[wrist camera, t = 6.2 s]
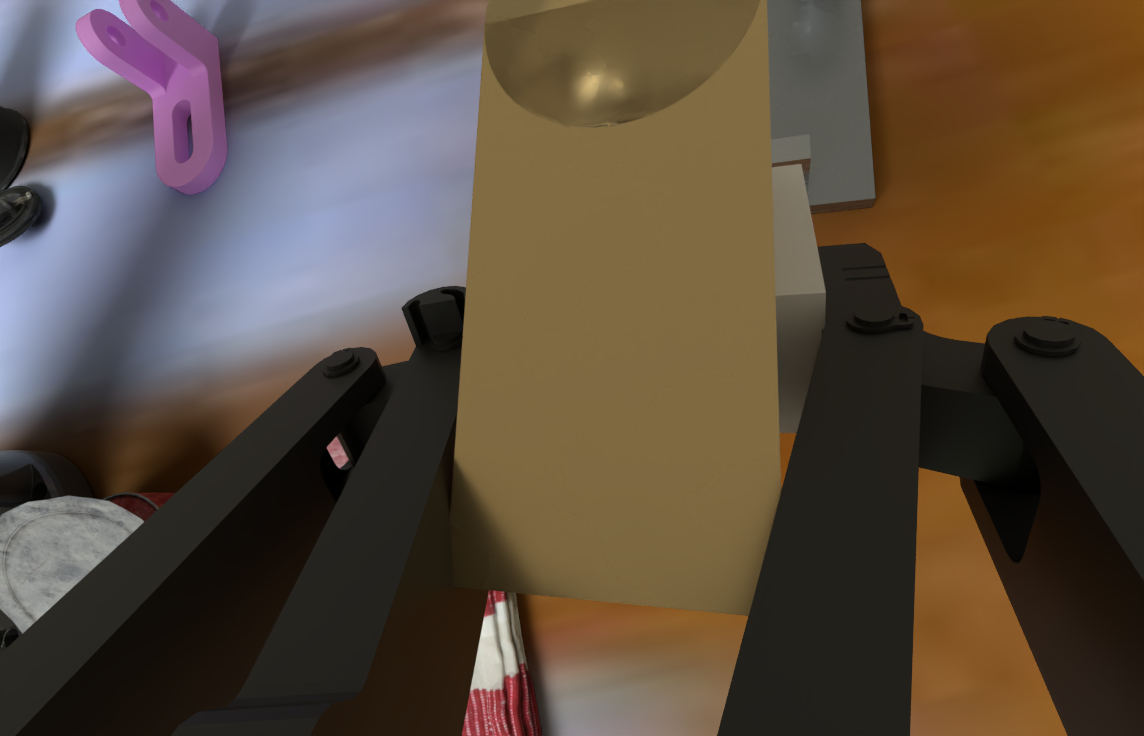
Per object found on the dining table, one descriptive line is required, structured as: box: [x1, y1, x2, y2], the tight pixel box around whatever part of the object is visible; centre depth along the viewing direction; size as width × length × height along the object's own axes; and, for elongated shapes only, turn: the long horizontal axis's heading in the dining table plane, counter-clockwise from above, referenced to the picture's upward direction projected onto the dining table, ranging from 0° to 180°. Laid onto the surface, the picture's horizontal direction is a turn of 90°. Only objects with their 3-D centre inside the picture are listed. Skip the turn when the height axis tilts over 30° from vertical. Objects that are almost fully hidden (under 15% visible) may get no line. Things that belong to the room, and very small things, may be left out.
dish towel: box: [327, 436, 542, 736], centre depth 33 cm, size 17×23×3 cm
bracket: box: [76, 0, 227, 195], centre depth 44 cm, size 13×6×7 cm, turn 14°
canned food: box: [0, 492, 174, 634], centre depth 37 cm, size 11×10×10 cm
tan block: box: [450, 0, 781, 616], centre depth 13 cm, size 4×10×11 cm, turn 178°
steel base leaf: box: [767, 0, 875, 214], centre depth 29 cm, size 18×17×11 cm
